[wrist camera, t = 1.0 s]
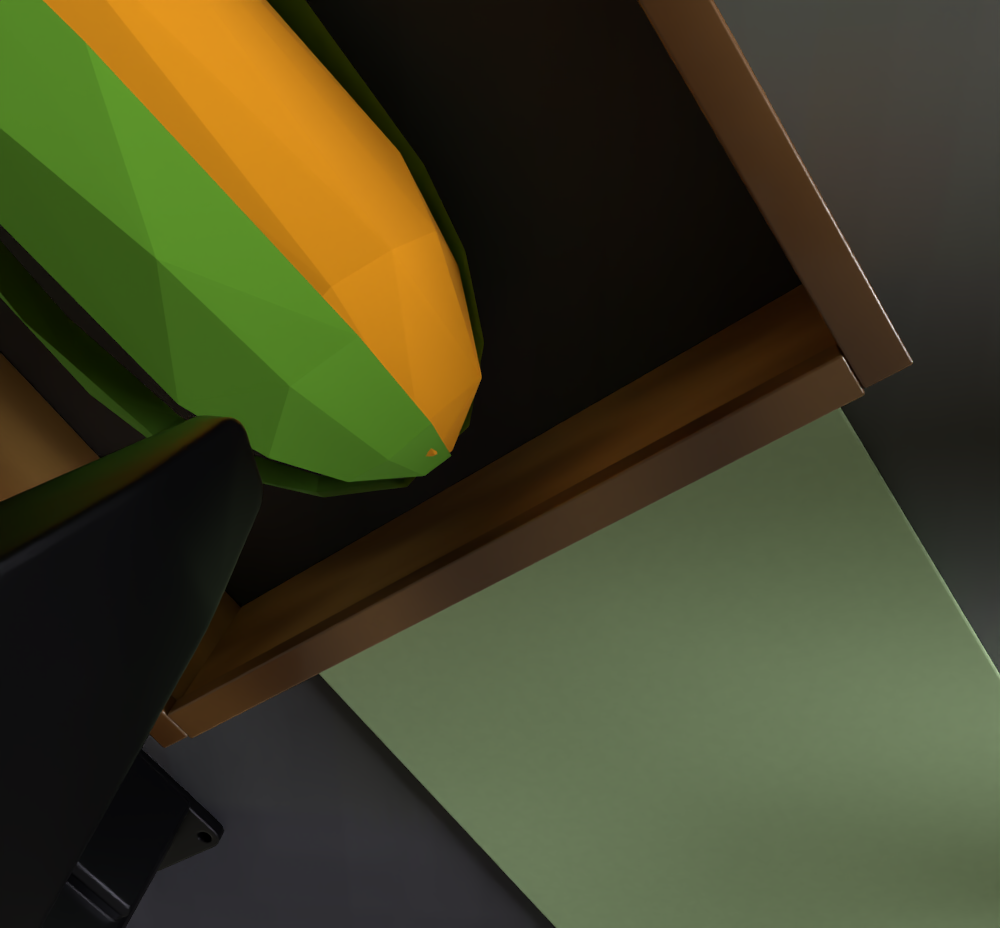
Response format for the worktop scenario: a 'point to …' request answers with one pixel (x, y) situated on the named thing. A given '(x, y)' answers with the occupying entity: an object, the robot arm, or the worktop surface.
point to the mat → (716, 711)
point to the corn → (235, 234)
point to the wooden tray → (564, 448)
